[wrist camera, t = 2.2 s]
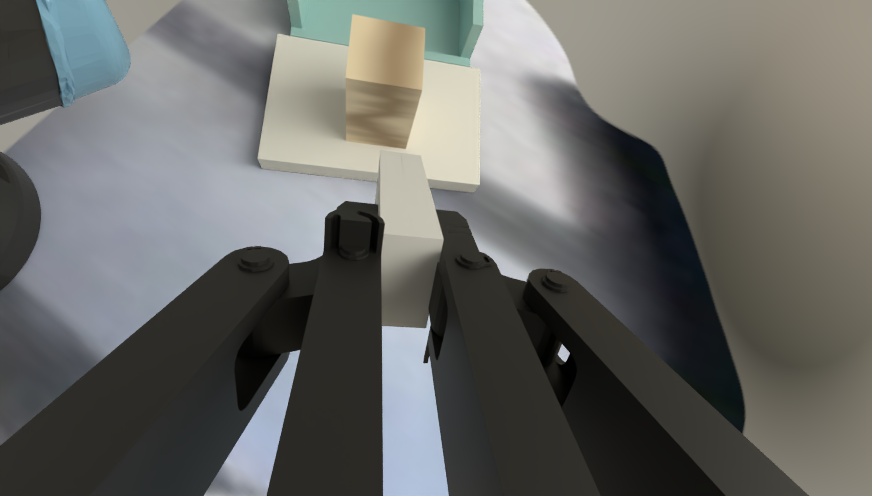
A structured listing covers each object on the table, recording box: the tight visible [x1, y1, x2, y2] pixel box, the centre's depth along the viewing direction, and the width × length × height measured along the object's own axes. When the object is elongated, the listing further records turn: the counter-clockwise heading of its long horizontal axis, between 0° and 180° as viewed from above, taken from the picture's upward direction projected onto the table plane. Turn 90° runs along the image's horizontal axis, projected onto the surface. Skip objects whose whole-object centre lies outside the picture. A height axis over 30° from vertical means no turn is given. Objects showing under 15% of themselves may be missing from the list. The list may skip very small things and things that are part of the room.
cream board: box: [257, 34, 480, 193], centre depth 40 cm, size 20×13×2 cm, turn 88°
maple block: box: [346, 14, 425, 149], centre depth 34 cm, size 6×6×9 cm
